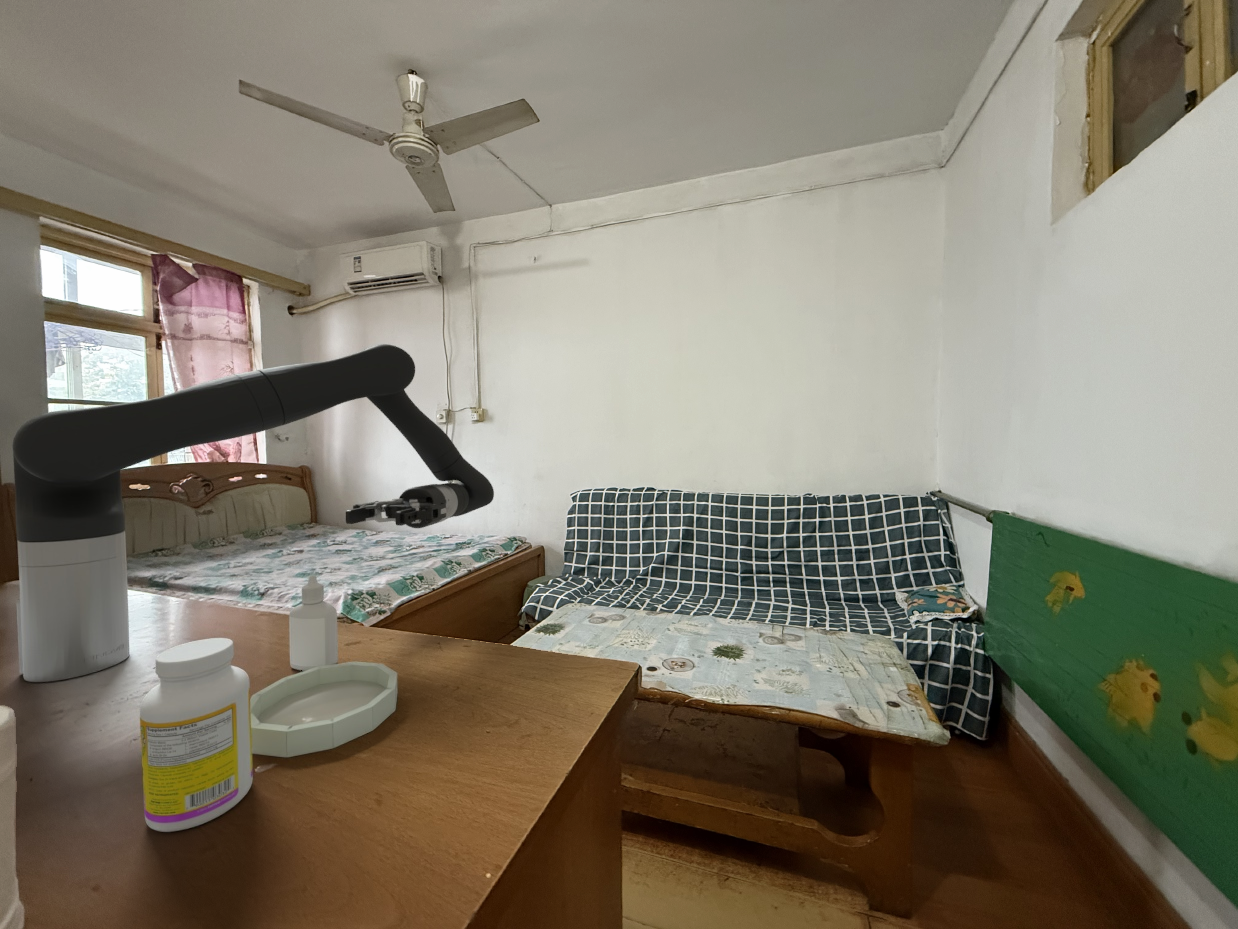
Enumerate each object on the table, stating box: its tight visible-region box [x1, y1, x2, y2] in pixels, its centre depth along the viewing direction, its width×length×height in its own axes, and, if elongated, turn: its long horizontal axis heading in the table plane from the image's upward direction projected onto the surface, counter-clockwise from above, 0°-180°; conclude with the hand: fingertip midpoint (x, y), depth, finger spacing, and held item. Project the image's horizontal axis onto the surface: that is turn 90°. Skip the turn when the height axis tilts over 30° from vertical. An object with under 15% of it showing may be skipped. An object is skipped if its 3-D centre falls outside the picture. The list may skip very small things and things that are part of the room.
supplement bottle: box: [139, 637, 254, 833], centre depth 39 cm, size 7×7×13 cm
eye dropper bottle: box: [288, 574, 339, 672], centre depth 63 cm, size 4×6×12 cm
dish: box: [250, 660, 398, 758], centre depth 52 cm, size 14×14×2 cm
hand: (372, 518), depth 74 cm, fingers open, 8 cm apart
